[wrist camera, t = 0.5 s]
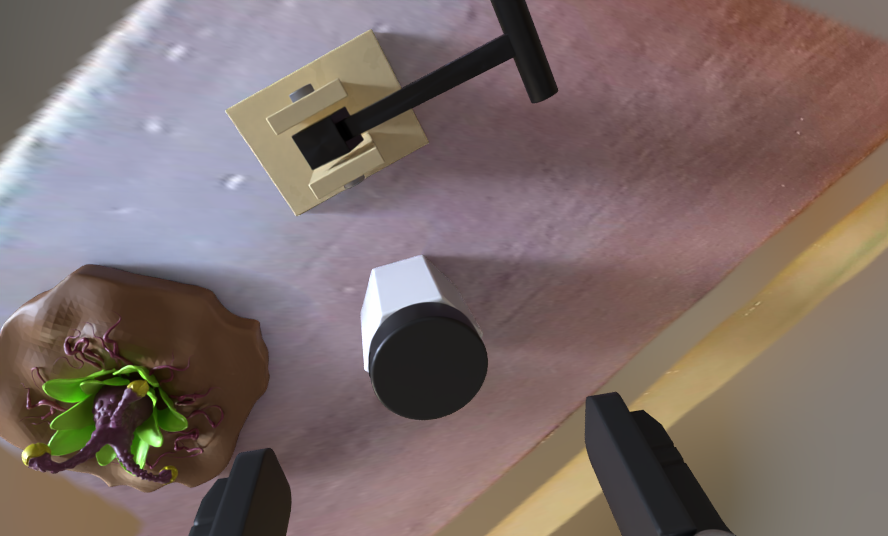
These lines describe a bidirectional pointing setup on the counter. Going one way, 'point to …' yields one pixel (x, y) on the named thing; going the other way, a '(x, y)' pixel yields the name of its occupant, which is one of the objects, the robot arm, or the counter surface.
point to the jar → (420, 341)
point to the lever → (437, 86)
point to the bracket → (315, 96)
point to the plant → (129, 379)
